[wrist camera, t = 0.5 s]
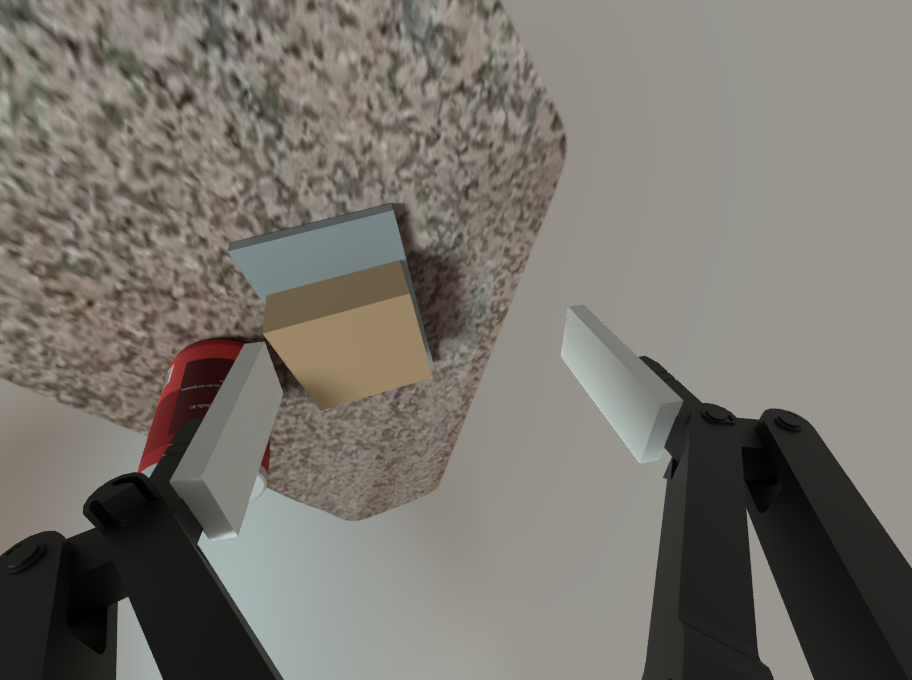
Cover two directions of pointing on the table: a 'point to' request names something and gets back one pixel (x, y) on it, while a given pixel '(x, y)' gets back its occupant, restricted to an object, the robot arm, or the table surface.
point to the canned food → (194, 400)
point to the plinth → (323, 252)
